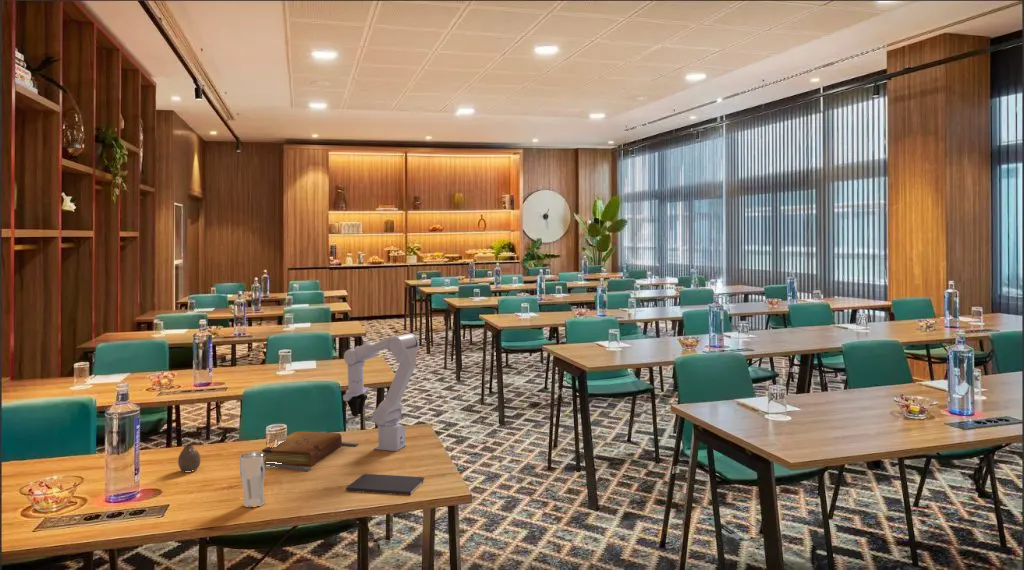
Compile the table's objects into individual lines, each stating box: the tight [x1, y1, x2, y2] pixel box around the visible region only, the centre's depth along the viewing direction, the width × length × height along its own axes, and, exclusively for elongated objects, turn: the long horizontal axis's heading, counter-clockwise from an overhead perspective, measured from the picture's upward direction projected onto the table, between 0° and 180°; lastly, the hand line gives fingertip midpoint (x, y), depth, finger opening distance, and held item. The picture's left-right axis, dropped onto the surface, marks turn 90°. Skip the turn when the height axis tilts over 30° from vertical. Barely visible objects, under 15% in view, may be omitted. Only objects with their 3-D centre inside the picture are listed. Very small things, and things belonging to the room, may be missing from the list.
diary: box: [261, 431, 343, 468], centre depth 250 cm, size 23×19×6 cm
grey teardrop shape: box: [177, 444, 201, 472], centre depth 236 cm, size 7×7×9 cm
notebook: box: [345, 473, 425, 496], centre depth 217 cm, size 13×2×21 cm
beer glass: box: [239, 450, 266, 507], centre depth 204 cm, size 7×7×15 cm
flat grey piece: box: [264, 441, 359, 472], centre depth 251 cm, size 27×30×1 cm
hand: (357, 415), depth 264 cm, fingers open, 2 cm apart
